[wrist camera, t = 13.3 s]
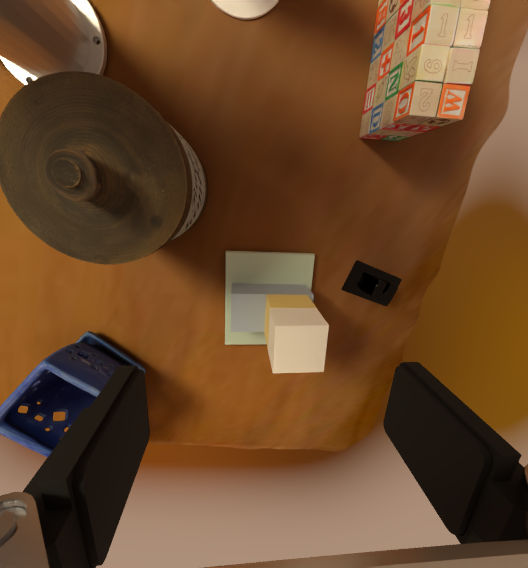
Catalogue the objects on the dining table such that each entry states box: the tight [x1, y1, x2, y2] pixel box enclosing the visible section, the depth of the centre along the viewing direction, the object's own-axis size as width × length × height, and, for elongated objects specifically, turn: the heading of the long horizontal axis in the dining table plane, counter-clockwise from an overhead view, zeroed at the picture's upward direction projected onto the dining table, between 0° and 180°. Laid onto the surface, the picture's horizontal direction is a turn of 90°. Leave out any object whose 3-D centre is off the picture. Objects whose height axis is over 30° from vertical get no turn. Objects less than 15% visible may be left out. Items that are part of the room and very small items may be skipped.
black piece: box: [342, 260, 401, 306], centre depth 45 cm, size 12×7×5 cm, turn 68°
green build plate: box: [225, 250, 315, 345], centre depth 45 cm, size 14×16×1 cm
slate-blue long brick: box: [231, 283, 314, 332], centre depth 42 cm, size 12×6×5 cm, turn 87°
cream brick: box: [268, 308, 329, 373], centre depth 33 cm, size 6×6×5 cm
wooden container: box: [0, 71, 208, 264], centre depth 28 cm, size 15×15×22 cm
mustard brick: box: [264, 294, 316, 348], centre depth 38 cm, size 6×6×5 cm
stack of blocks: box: [359, 0, 491, 141], centre depth 31 cm, size 21×6×12 cm, turn 178°
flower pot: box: [0, 331, 146, 457], centre depth 41 cm, size 13×13×12 cm
